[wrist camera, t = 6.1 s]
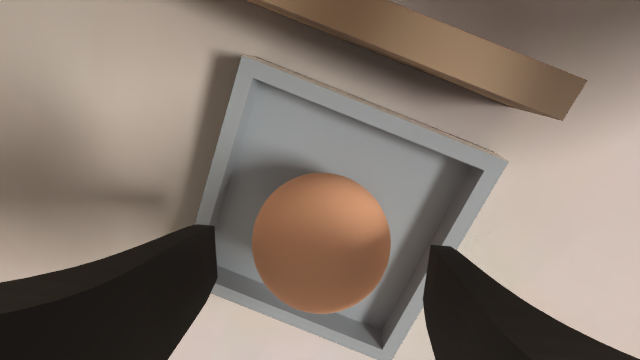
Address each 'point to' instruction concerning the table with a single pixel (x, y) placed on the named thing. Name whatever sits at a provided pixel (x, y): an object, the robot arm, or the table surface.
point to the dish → (349, 161)
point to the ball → (321, 243)
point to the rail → (440, 51)
